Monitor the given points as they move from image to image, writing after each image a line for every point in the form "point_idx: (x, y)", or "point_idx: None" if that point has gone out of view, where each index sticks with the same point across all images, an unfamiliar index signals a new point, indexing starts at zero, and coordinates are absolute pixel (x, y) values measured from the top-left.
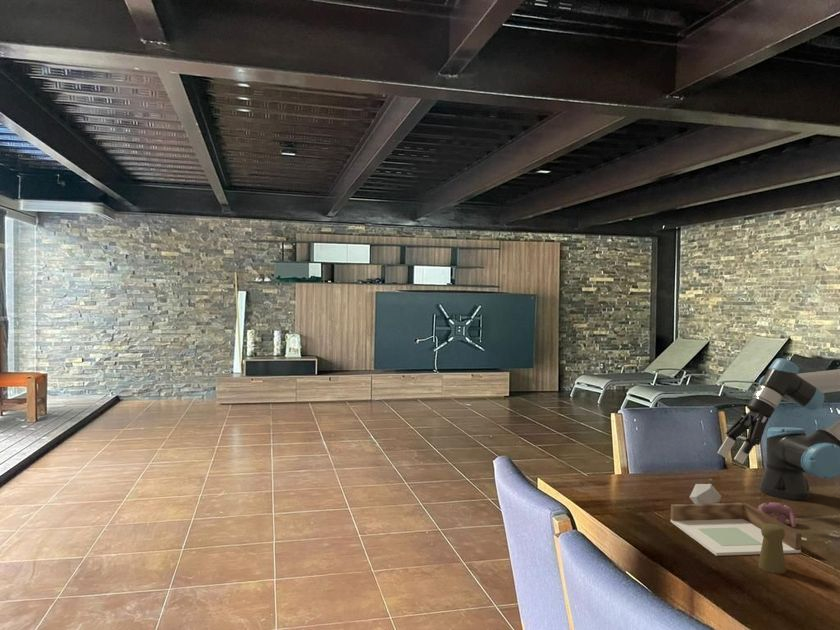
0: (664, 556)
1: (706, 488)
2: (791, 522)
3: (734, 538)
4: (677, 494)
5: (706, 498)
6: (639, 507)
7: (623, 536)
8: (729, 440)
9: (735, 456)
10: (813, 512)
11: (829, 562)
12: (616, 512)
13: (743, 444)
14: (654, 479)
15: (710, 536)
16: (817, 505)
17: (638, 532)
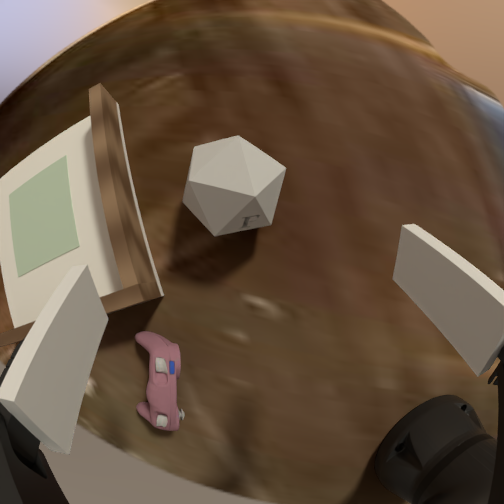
0: (5, 115)
1: (196, 169)
2: (141, 404)
3: (30, 225)
4: (355, 143)
5: (187, 178)
6: (206, 48)
7: (62, 55)
8: (483, 322)
9: (78, 276)
10: (283, 480)
11: None
12: (166, 23)
13: (17, 367)
14: (454, 124)
15: (35, 178)
16: (339, 492)
17: (72, 67)
